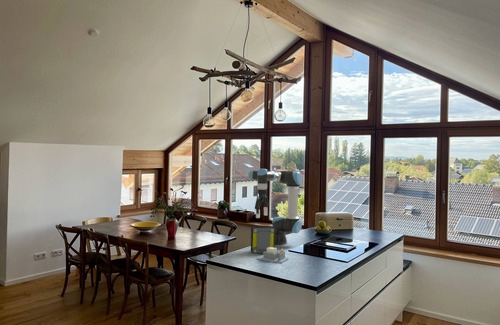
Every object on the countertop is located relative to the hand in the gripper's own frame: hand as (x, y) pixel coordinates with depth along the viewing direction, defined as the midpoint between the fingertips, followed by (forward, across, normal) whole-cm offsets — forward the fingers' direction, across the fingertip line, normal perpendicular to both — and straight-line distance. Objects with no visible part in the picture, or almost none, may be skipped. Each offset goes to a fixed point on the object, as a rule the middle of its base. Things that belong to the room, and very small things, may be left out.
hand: (261, 216), depth 281 cm
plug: (+29, +4, +11) cm, 31 cm away
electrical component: (+31, -12, -5) cm, 33 cm away
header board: (+30, +4, +12) cm, 33 cm away
